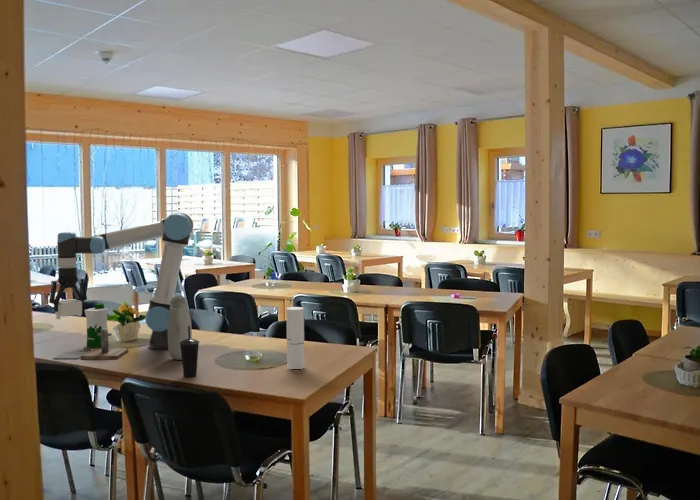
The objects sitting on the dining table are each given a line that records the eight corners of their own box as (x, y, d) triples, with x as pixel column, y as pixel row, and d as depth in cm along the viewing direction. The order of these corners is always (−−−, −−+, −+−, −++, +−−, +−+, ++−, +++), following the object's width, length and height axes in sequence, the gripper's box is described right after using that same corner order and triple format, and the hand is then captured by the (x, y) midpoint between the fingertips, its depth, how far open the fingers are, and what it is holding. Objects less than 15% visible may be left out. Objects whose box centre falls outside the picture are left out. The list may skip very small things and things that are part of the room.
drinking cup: (201, 373, 256) (200, 324, 254) (197, 378, 248) (196, 327, 247) (182, 373, 255) (181, 324, 254) (178, 378, 248) (176, 328, 246)
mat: (88, 353, 291) (88, 352, 291) (78, 359, 280) (78, 357, 280) (64, 353, 291) (64, 352, 291) (53, 359, 280) (53, 358, 280)
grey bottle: (167, 357, 281) (165, 295, 279) (191, 355, 285) (189, 293, 283) (169, 363, 272) (167, 298, 270) (193, 360, 276) (192, 296, 274)
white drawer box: (74, 312, 290) (74, 298, 289) (82, 314, 284) (81, 300, 284) (55, 314, 284) (55, 300, 284) (62, 316, 278) (62, 302, 278)
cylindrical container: (295, 364, 268) (294, 306, 266) (308, 367, 263) (307, 308, 261) (283, 368, 262) (282, 308, 260) (296, 371, 258) (295, 310, 256)
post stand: (128, 351, 294) (127, 325, 293) (117, 359, 280) (116, 332, 279) (93, 351, 293) (92, 326, 293) (81, 359, 280) (80, 332, 279)
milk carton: (111, 344, 308) (110, 304, 306) (96, 348, 299) (95, 306, 298) (98, 343, 311) (96, 302, 310) (83, 347, 303) (81, 305, 302)
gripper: (87, 264, 293) (89, 313, 294) (39, 268, 278) (41, 319, 279) (94, 266, 287) (95, 315, 289) (45, 269, 272) (47, 321, 274)
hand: (68, 317), depth 284 cm, fingers closed on white drawer box, 8 cm apart
